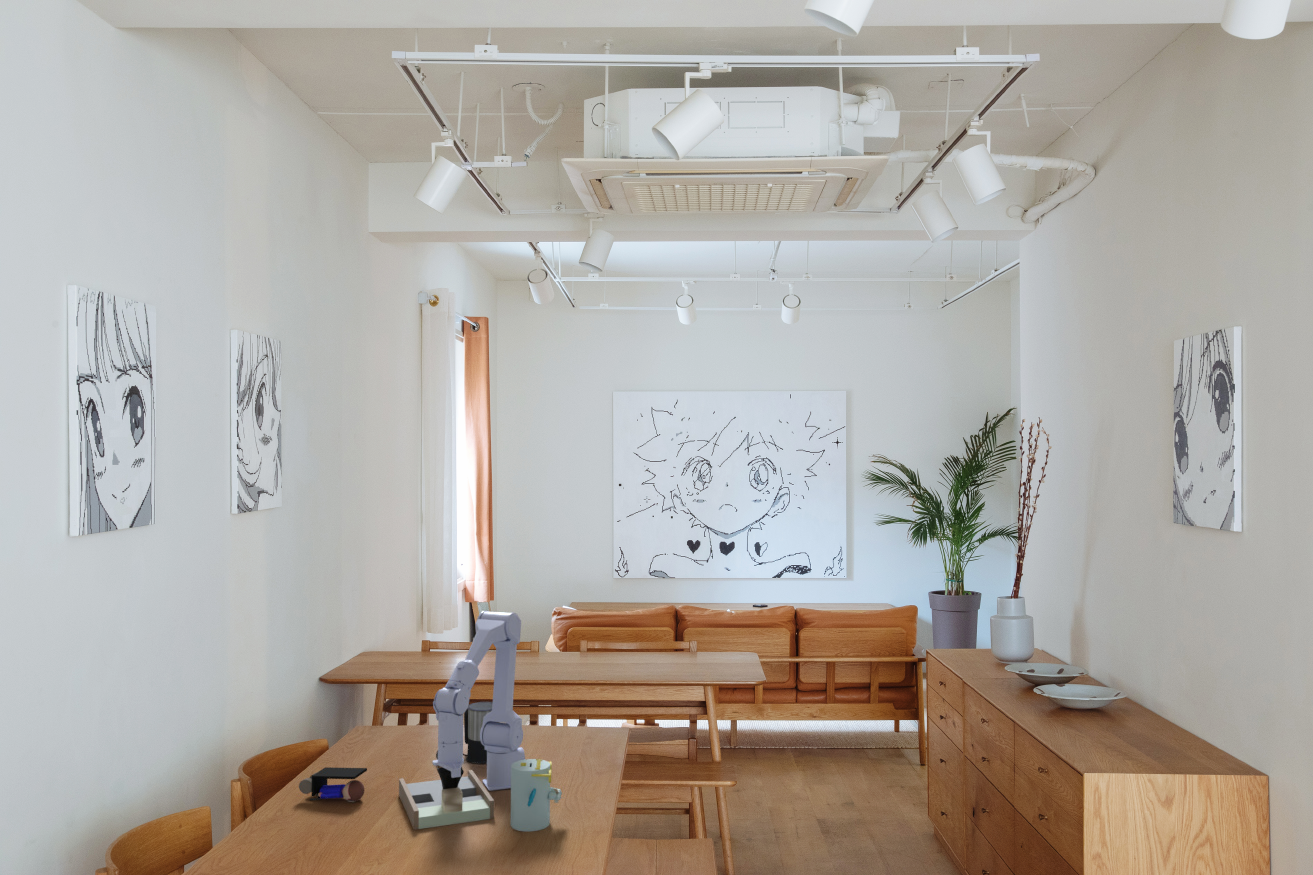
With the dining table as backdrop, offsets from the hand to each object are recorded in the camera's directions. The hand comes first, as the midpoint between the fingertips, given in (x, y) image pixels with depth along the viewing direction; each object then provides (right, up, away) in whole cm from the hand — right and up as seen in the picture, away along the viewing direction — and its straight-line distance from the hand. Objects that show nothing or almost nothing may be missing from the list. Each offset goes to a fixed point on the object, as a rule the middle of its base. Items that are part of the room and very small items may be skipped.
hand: (449, 799), depth 214 cm
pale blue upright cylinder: (+21, -4, -5) cm, 22 cm away
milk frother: (-4, -5, +40) cm, 41 cm away
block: (+1, -1, -3) cm, 4 cm away
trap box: (-2, -4, +5) cm, 7 cm away
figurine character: (-30, -4, +10) cm, 32 cm away
